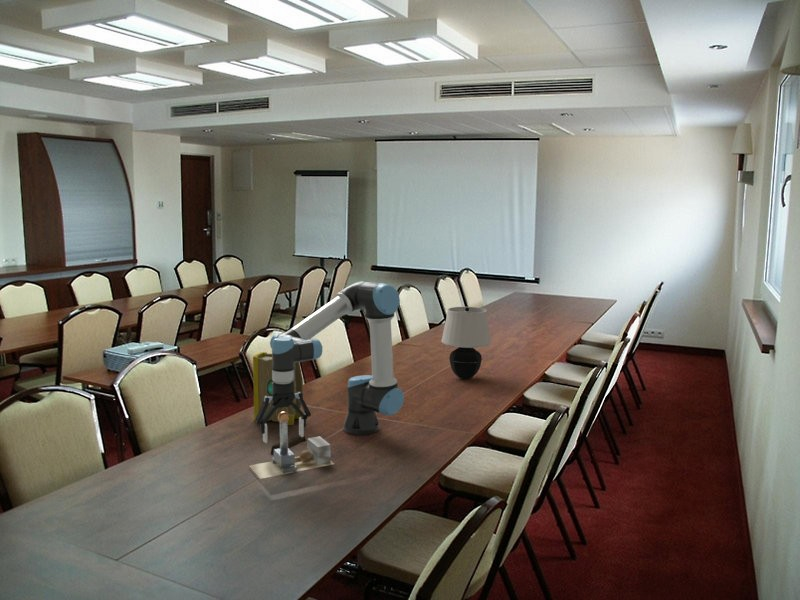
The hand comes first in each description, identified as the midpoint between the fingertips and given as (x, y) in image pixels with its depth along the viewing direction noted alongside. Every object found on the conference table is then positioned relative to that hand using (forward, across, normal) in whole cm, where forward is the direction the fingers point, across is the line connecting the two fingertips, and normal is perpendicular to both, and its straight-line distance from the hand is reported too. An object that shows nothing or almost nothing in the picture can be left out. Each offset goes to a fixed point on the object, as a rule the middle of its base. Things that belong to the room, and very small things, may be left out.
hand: (283, 438), depth 239 cm
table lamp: (+11, -131, -73) cm, 150 cm away
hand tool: (+12, -8, -18) cm, 23 cm away
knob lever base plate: (+12, -3, 0) cm, 12 cm away
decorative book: (+12, -17, -54) cm, 58 cm away
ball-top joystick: (+10, 0, 0) cm, 10 cm away
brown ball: (+10, -8, 0) cm, 13 cm away
